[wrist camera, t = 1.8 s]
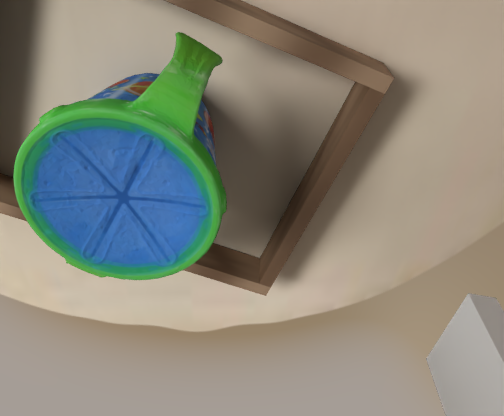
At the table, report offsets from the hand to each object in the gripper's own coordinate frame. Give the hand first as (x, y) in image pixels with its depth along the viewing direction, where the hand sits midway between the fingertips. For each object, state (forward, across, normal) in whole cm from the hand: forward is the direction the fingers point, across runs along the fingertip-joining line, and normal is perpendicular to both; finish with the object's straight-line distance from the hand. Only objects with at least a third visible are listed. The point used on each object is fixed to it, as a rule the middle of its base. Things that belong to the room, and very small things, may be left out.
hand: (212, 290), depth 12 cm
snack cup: (+20, -5, -5) cm, 22 cm away
